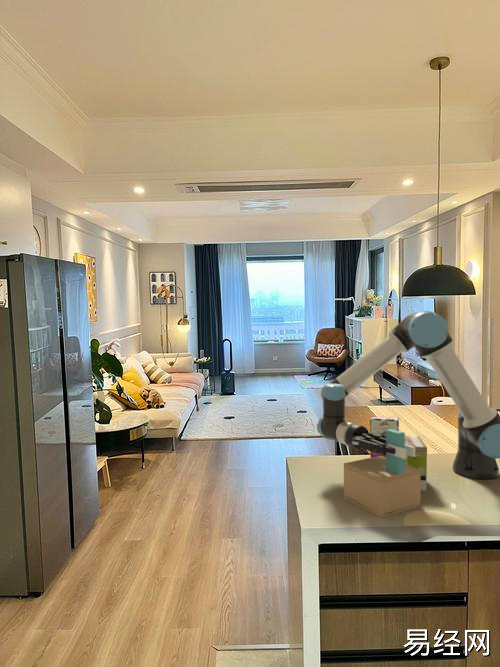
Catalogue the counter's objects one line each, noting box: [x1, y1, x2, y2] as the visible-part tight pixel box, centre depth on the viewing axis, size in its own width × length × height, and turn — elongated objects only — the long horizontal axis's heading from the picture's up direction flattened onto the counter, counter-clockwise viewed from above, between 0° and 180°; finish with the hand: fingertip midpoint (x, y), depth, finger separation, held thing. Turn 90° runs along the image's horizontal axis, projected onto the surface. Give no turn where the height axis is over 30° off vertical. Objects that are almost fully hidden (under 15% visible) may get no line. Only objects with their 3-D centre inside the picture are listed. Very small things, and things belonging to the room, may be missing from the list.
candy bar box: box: [369, 416, 400, 458], centre depth 182 cm, size 11×5×16 cm, turn 68°
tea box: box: [405, 435, 428, 492], centre depth 154 cm, size 15×10×15 cm, turn 168°
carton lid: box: [343, 429, 421, 482], centre depth 137 cm, size 16×16×13 cm
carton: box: [343, 466, 421, 518], centre depth 137 cm, size 16×16×10 cm
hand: (409, 453), depth 127 cm, fingers open, 3 cm apart
